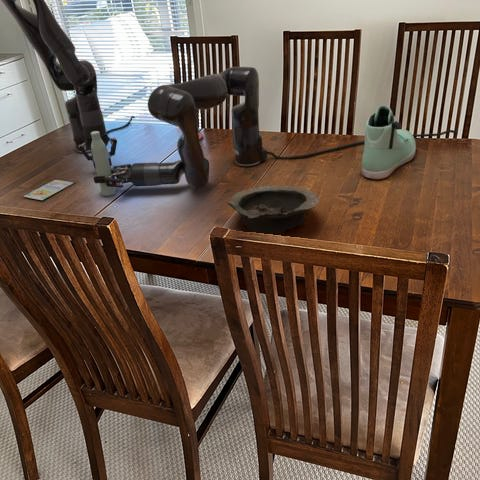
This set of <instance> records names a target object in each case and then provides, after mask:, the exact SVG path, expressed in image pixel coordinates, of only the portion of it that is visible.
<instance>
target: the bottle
mask: <svg viewBox="0 0 480 480" xmlns="http://www.w3.org/2000/svg"><path fill="white" fill-rule="evenodd" d="M91 136H92V144H91V149H92V152H91V155H92V154H93V158H94V162H95V166H96V169H95V170H96V174H97V175H96V176H108V175H112V173H111V168H110V164H109V160H108V155H107V151H106V148H107V147H106V146H105V143H104V142H103V141H102V139H101V137H100V132H99V131H94V132H91ZM99 188H100V191H101V195H102V196H103V197H110V196H113V195H115V194H116V187H108V186H106V183H99Z"/></svg>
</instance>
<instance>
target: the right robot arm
mask: <svg viewBox="0 0 480 480" xmlns="http://www.w3.org/2000/svg"><path fill="white" fill-rule="evenodd" d="M228 96H236V97H244V102H242V103H238V104H236V105H234V106H233V107H232V108H231V122H232V134H233V135H232V136H233V147H234V149H233V153H234V159H235V160H234V163H235V165H237V166H238V167H246V168H248V167H249V168H250V167H255V166H258V165H259V164H260V163H264V160H267V159H268V155H270V156H272V157H273V158H275V159H277V160H294V159H295V160H296V159H302V158H303V159H304V158H308V157H312V156H316V155H321V154H325V153H329V152H333V151H337V150H341V149H345V148H350V147H353V146H359V145H364V144H365V140H361V141H356V142H352V143H349V144H348V143H347V144H344V145H340V146H336V147H331V148H327V149H324V150H320V151H316V152H311V153H307V154H306V153H305V154H301V155H292V156H280V155H279V156H278V155H277V154H275V153H274V152H272V151H268V149H266V148H264V147H263V138H262V136H261V134H260V121H259V120H260V119H259V109H260V108H259V107H260V106H259V105H260V78H259V72H258V69H256V68H255V67H253V66H230V67H228V68H226V69H225V70H223V71H220V72H219V73H211V74H207V75H203V76H200V77H198V78H193V79H190V80H187V81H183V82H179V83H171V84H170V83H168V84H161V85H159V86H157V87H156V88H154V89H153V90H152V92H151V93H150V95H149V97H148V99H147V110H148V112H149V114H150V115H151V116H152V117H153V118H154V119H156V120H158V121H160V122H163V123H166V124H168V125H171V126H176V127H178V128H179V129H180V131H181V134H180V135H179V137H178V139H177V143H176V149H177V153H178V155H179V158H180V159H179V160H176V161H172V162H155V161H154V162H152V161H151V162H136V163H135V162H133V163H132V164H131V163H126V164H120V165H113V167H111V168H110V169H111V173H112V175H108V176H98V175H95V176H93V183H95V184H100V183H106V186H108V187H115V188H121V189H122V188H123V187H124V184H130V183H131V184H132V185H133V186H134V187H135V188H137V187H156V186H162V185H163V186H164V185H165V186H166V185H177V184H179V183H180V181H181V180H182V176H183V175H184V177H185V181H186V183H187V184H188V185H189V187H191V188H193V189H196V190H201V189H204V188H205V187H207V185H208V184H209V180H210V161H209V159H208V158H207V157H205V154H204V151H203V147H202V145H201V142H200V140H199V137H198V133H199V126H198V125H199V124H198V115H197V111H199V110H201V111H203V110H209V109H212V108H213V109H214V108H216V107H218V106H220V105H221V104H224V102H225V101H226V99H227V97H228ZM448 133H449V134H450V133H452V134H454V135H458V132H457V131H456V130H453V129H448V130H445V131H442V132H439V133H421V134H420V133H418V134H417V133H416V134H412V135H413V137H414V138H420V137H421V138H422V137H425V138H427V137H439V136H443V135H445V134H448Z"/></svg>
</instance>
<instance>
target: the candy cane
mask: <svg viewBox="0 0 480 480" xmlns="http://www.w3.org/2000/svg"><path fill="white" fill-rule="evenodd" d="M198 137H199V141H200V140H203V138H204V136H203V134H202V133H199V132H198Z"/></svg>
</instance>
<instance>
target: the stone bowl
mask: <svg viewBox="0 0 480 480" xmlns="http://www.w3.org/2000/svg"><path fill="white" fill-rule="evenodd" d="M319 203H320V199H319V198H318V197H317V195H316V193H314V192H313V191H311V190H309V189H307V188H302V187H298V186H291V185H277V184H275V185H274V184H271V185H266V186H265V185H262V186H254V187H251V188H248V189H244V190H240V191H238V192H236V193H235V194H233V195H232V196H231V198H230V200H229V203H228V202H227V204H226V205H228V206H230V207H231V208H232V209H234V211H236V212H237V213H238V214H239V215H240V217H241V220H242V223H243V225H244V226H246V227H247V228H248V229H249V232H250V233H251V232H256V233H264V234H273V235H279V236H281V235H284V234H285V233H286V232H285V231H286V230H292V229H294V228H300V227H301V226H303V224H304V220H305V217H306V212H308V211H310V210H312V209H313V208H315V207H317V206H318V204H319Z"/></svg>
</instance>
